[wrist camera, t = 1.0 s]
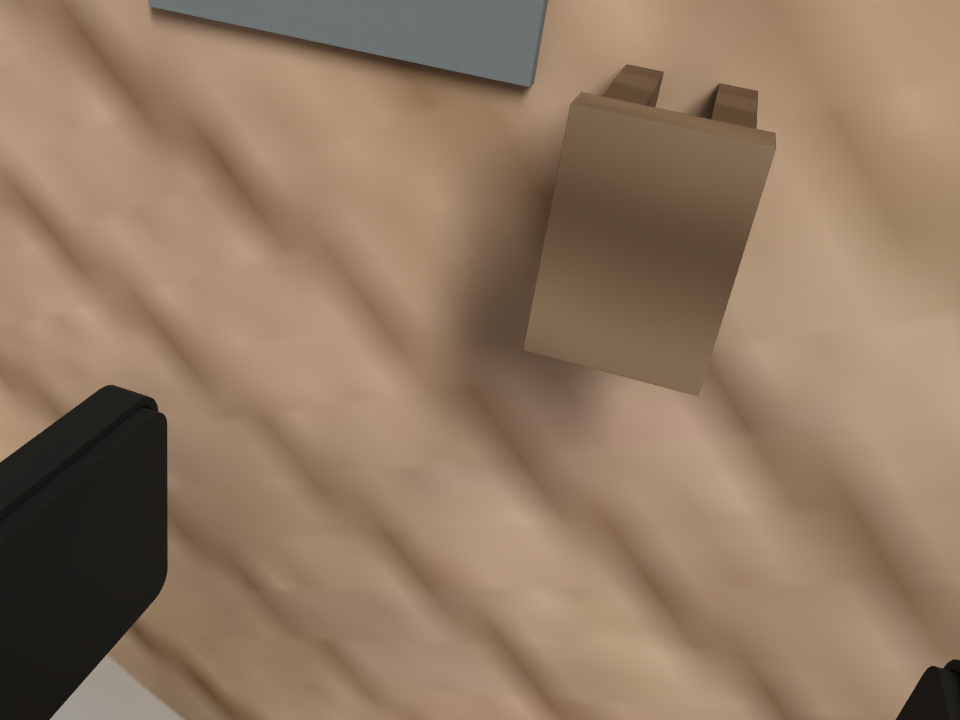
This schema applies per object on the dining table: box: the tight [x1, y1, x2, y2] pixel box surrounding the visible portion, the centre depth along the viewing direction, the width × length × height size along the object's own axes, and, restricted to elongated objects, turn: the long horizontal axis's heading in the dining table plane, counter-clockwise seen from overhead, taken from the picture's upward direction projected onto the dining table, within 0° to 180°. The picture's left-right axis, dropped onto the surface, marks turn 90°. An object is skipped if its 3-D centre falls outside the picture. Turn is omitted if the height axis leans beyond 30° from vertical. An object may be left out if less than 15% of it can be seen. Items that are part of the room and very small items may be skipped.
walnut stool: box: [523, 65, 776, 396], centre depth 27 cm, size 7×5×8 cm
